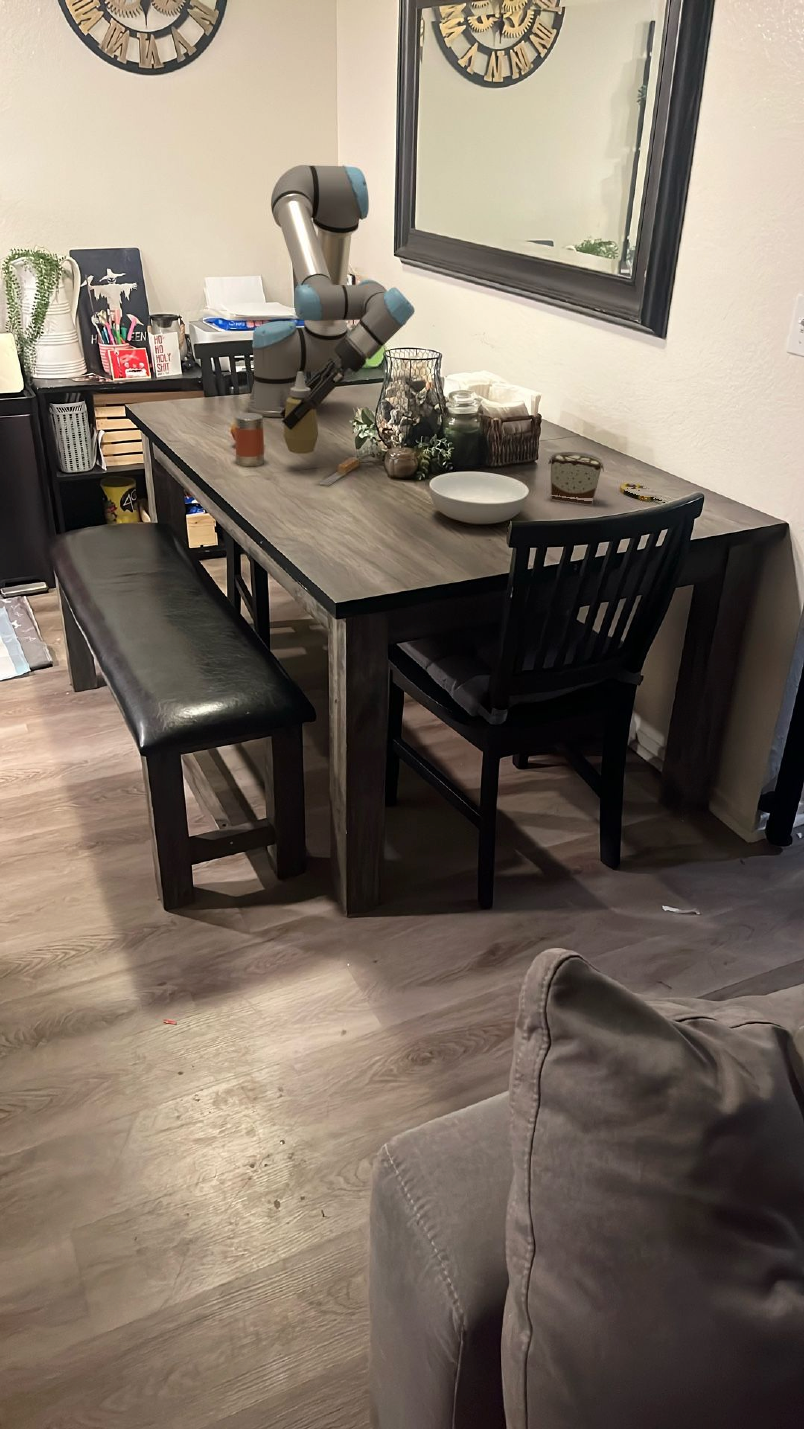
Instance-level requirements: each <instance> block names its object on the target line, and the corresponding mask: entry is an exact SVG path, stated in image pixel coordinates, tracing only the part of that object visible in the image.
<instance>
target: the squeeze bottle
mask: <svg viewBox="0 0 804 1429" xmlns="http://www.w3.org/2000/svg"><path fill="white" fill-rule="evenodd" d="M305 380H306V379H305V376H304V372H296V383H295V387H292V388H291V389H290V395H291V397H289V398H288V399H287V400H286V411H285V417H286V416H287V415H288V414H289V413H290V412H291V411H292V410H293V409H294V408H295V407H296V406H297V405H298V404H299V403H300V402H301V398H304V399H306V397H307V396H308V395H309V394H310V393H311V389H310V388H308V387H306V383H305ZM283 425H284V426H283V438H284V441H285V443H286V447H287V449H288V451H289V452H291V453H293V454H298V455H299V454H301V455H302V454H303V455H304V454H310V453H313V452H314V451H315V448H316V445H317V442H318V438H319V426H318V418H317V408H316V409H314V410H313V409H311V410H310V411H309V412H308V413H307V414H306V415H305V416H304V417H303V418H302V419H301V420H300V421H299V422H298V423H297V424H296V425H295V426H294V427H293V428H292V429H291V430H290V429H289V428H288V427H287V426H286V425H285V424H284V423H283Z"/></svg>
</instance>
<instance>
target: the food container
mask: <svg viewBox="0 0 804 1429" xmlns="http://www.w3.org/2000/svg"><path fill="white" fill-rule="evenodd" d="M547 465H550V501H553V502H560V503H566V504H573V505H581V506H588V507H593V505H594V501H593V502H592V501H584V500H577V499H570V498H562V497H555V496H551V495H558V496H559V495H560V496H566V497H575V498H576V497H578V498H593V499H594V500H595V496H596V492H597V488H598V483H599V480H600V475H601V471H602V473H604V472H605V468H604V467H605V466H604V462H603V459H602V458H601V457H599V456H598V455H595V454H592V453H587V452H581V451H561V452H555V453H553V454H551V455H550V458H549V459H548V463H547Z"/></svg>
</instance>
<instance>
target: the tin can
mask: <svg viewBox="0 0 804 1429" xmlns="http://www.w3.org/2000/svg"><path fill="white" fill-rule="evenodd" d="M233 417H234V418H233V419H234V423H235V440H234V444H235V445H234V447H235V463H236V465H239V466H241V467H259V466H262V465H264V464H265V441H264V438H265V437H264V434H265V432H264V416H262V415H260V414H257V413H250V412H240V413H236V414H235V415H234V416H233Z"/></svg>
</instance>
